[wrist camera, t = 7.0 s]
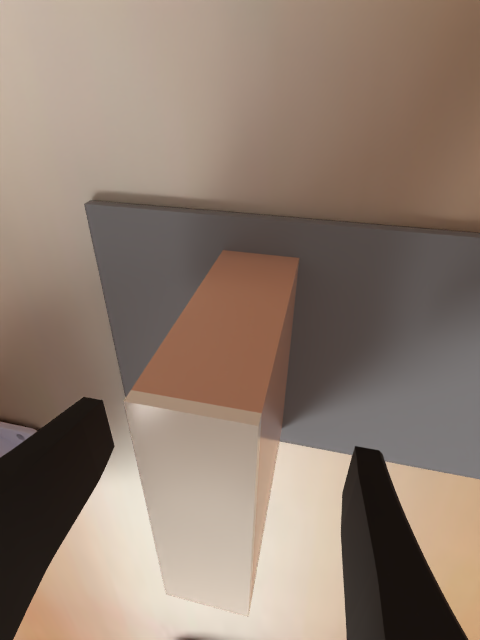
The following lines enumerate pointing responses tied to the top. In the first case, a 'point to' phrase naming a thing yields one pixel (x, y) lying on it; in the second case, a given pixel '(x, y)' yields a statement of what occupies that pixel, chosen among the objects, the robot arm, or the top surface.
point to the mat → (322, 321)
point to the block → (216, 427)
